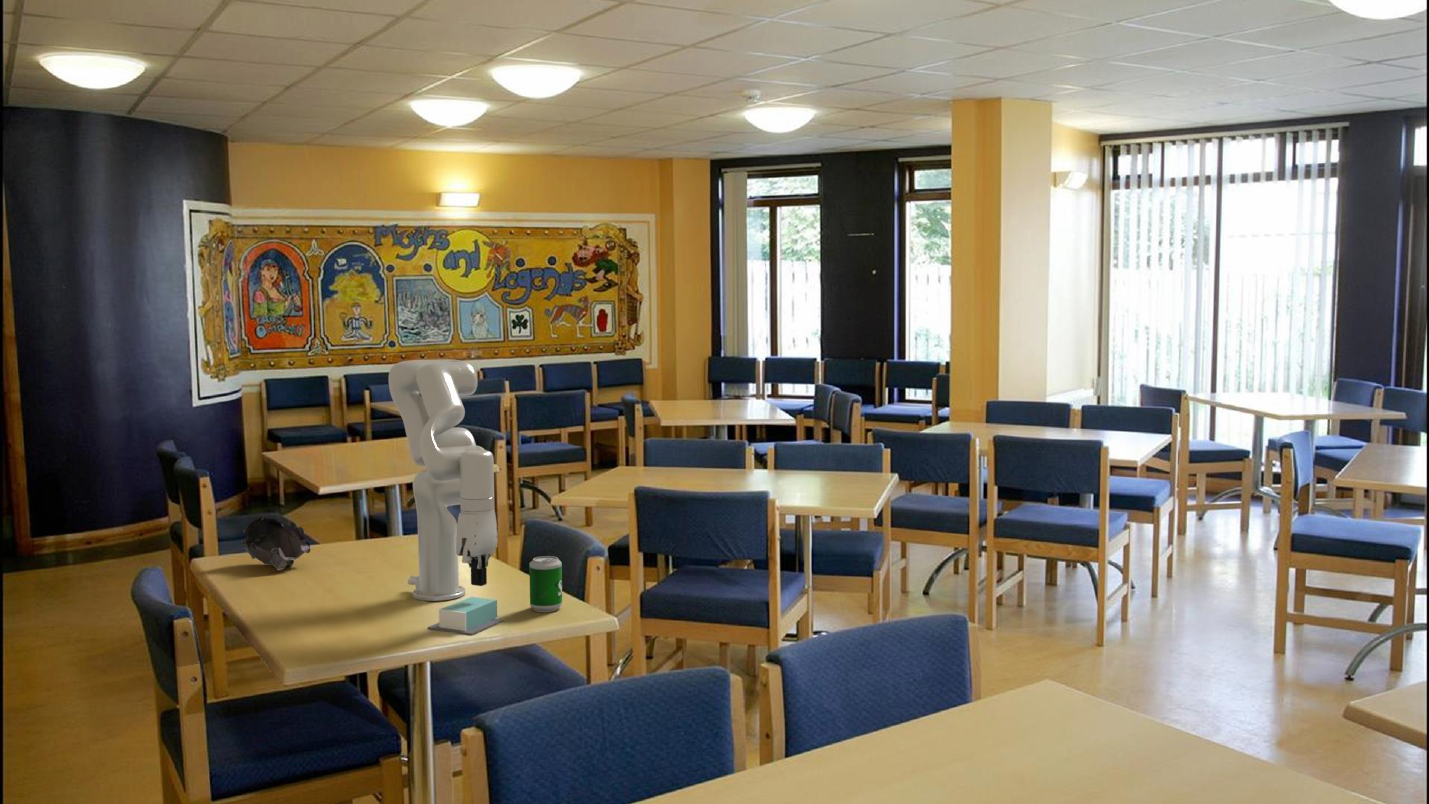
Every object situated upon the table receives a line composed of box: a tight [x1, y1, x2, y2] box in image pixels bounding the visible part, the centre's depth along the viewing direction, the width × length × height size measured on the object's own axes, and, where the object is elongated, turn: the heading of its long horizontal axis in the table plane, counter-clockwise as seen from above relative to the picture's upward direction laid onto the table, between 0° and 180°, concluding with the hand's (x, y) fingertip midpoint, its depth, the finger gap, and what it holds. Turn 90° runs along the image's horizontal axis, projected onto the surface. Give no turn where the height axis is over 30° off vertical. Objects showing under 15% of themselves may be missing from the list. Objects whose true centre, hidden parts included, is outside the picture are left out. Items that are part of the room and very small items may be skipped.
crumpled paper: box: [240, 515, 311, 571], centre depth 311 cm, size 14×15×20 cm
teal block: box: [438, 596, 498, 631], centre depth 256 cm, size 7×4×12 cm
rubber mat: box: [427, 618, 505, 636], centre depth 255 cm, size 12×12×1 cm
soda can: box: [528, 555, 563, 613], centre depth 268 cm, size 8×8×12 cm
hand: (478, 584), depth 259 cm, fingers closed
